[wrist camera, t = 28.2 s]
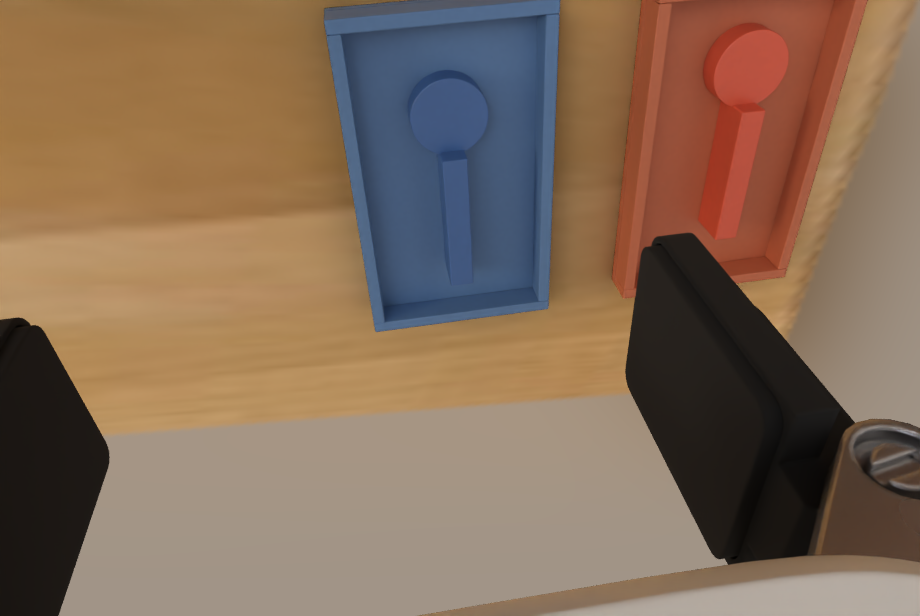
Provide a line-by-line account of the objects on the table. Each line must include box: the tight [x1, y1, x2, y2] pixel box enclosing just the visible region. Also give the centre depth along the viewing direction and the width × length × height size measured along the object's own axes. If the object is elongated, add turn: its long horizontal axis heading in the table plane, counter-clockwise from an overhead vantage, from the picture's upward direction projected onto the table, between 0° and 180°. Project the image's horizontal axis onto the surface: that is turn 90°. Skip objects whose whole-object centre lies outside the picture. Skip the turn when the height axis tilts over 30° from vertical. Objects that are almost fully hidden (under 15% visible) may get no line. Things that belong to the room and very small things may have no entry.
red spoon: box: [698, 23, 789, 240], centre depth 33 cm, size 10×4×2 cm, turn 3°
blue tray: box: [324, 0, 560, 332], centre depth 33 cm, size 16×10×2 cm, turn 3°
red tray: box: [612, 0, 868, 298], centre depth 34 cm, size 16×10×2 cm, turn 3°
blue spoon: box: [408, 70, 489, 286], centre depth 32 cm, size 10×4×2 cm, turn 3°
